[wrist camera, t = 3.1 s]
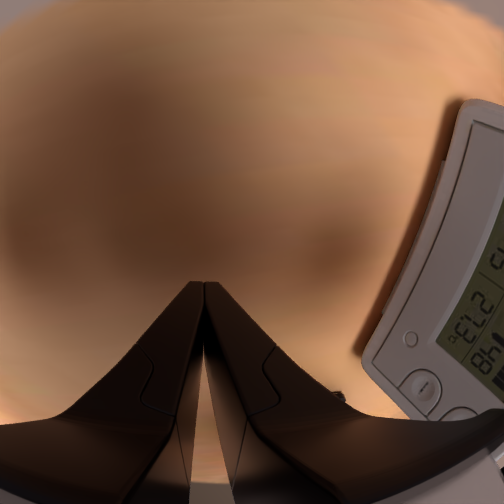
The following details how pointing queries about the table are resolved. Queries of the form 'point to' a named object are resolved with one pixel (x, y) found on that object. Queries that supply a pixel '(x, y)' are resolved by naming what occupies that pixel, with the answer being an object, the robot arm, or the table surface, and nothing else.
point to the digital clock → (451, 287)
